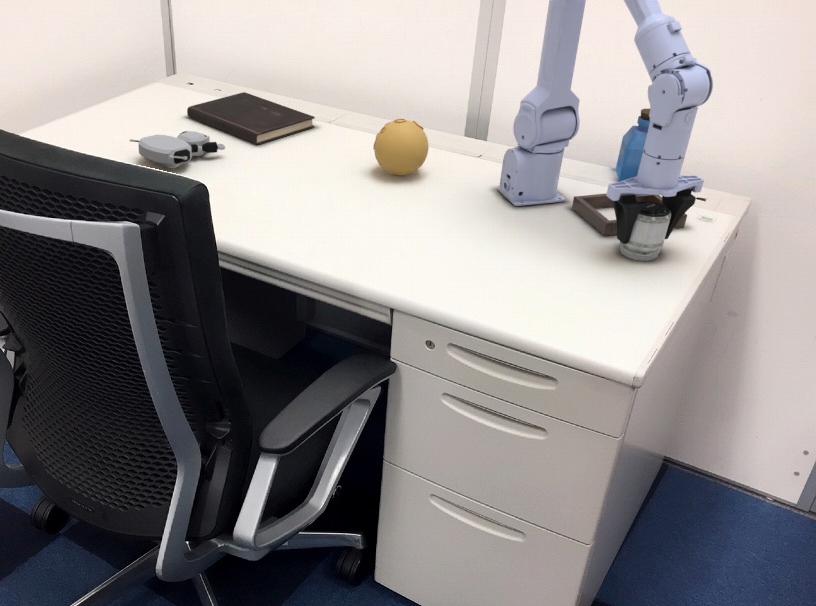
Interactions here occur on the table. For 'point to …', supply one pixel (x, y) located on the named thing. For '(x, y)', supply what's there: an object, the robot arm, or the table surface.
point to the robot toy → (176, 148)
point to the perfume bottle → (633, 148)
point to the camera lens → (647, 232)
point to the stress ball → (401, 147)
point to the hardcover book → (251, 117)
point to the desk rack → (597, 220)
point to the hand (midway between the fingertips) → (642, 238)
